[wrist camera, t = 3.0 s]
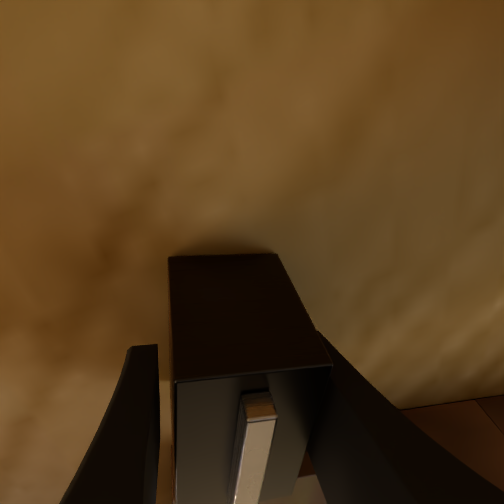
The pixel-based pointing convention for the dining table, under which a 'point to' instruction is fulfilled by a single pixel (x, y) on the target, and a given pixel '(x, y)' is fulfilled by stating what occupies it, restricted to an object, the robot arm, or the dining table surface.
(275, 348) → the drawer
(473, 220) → the dining table surface
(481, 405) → the step shelf
